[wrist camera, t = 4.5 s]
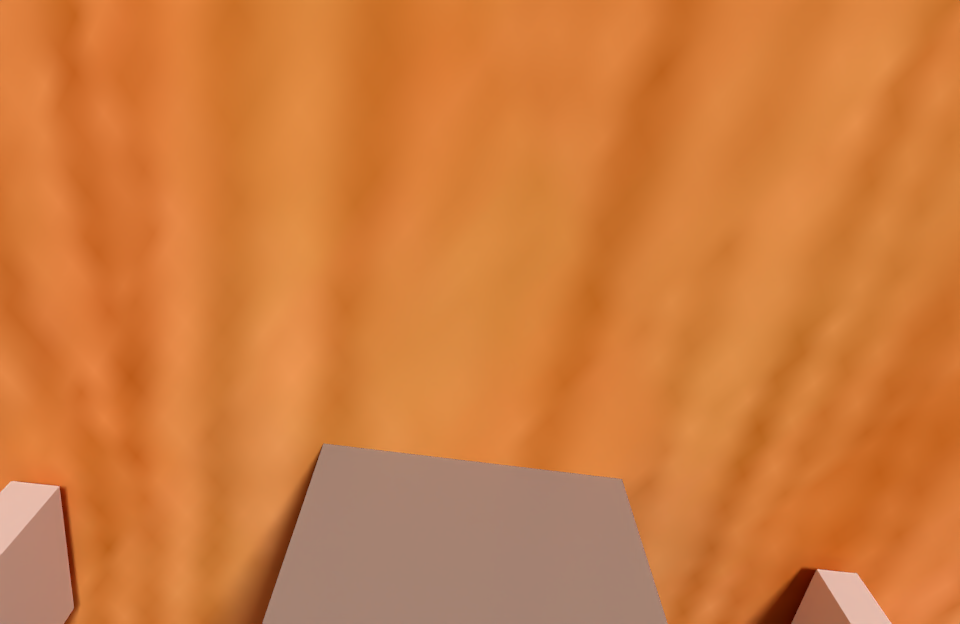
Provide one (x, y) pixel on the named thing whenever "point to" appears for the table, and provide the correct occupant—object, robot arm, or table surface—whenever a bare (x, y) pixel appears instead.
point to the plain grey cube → (461, 546)
